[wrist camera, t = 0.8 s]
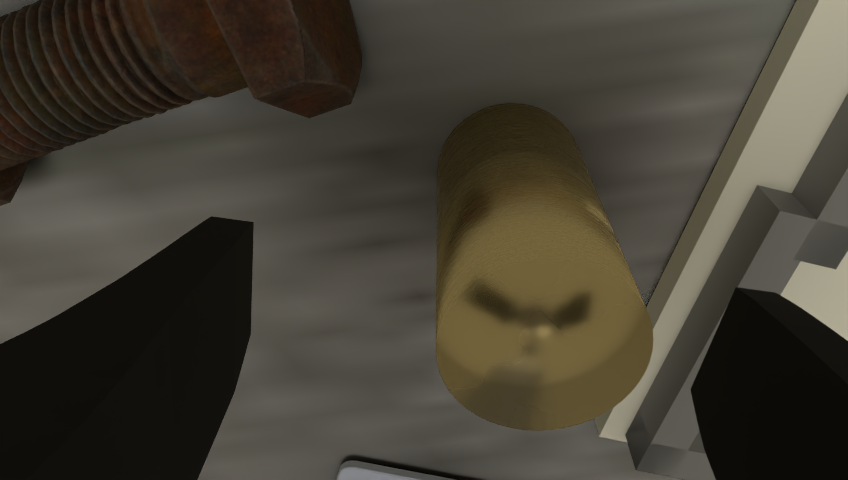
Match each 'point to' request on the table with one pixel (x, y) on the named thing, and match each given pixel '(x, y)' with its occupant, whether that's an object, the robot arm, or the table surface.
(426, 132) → the table surface
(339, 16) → the bolt
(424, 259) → the table surface
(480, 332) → the brass peg
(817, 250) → the keyhole plate
